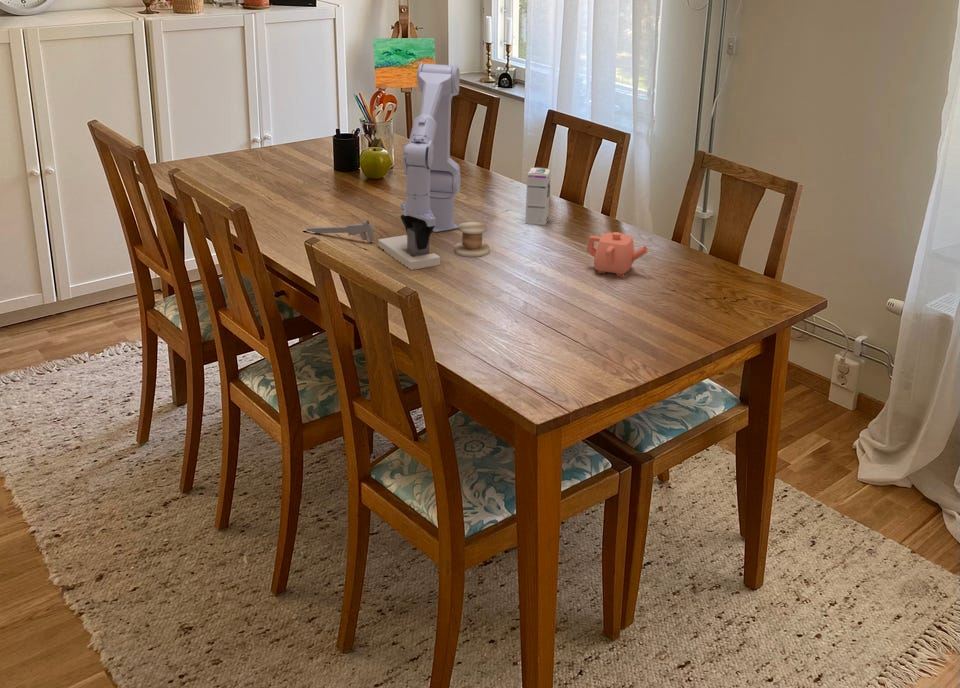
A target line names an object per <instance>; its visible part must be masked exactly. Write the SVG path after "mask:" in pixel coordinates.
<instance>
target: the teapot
mask: <svg viewBox="0 0 960 688" xmlns="http://www.w3.org/2000/svg"><path fill="white" fill-rule="evenodd" d="M595 242H597V245H596V247H594V246H595ZM586 252H587V253H588V254H590V255H591V256H592V257H593V258H594V259H593V266H594V269H595V270H597V273H598V272H599V273H604V274H606V273H612V274H615V275H618V276H623V275H624V276H625V274H626V273H628V271H630V270H631V268H632V266H633V265H634V261H636V260H639V258H641V257H643V256H644V255H646V254H647V253H649V249H648V248H647V246H646V245H643V246H642V247H640V248H639V249H638V250H636V251H635V245H634V238H633V236H632V235H630V234H629V235H628V234H624V233H622V232H618V231H614V232H610V231H607V232H605V233H604V234H603V235H602V236H597V235H590V236H589V238H588V243H587V247H586ZM599 273H598V274H599ZM618 276H617V277H618Z"/></svg>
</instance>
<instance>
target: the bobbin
mask: <svg viewBox="0 0 960 688" xmlns="http://www.w3.org/2000/svg"><path fill="white" fill-rule="evenodd" d="M458 225H459V228H458V231H459V232H461V235H462V237H461V238H462V239H461V240H462V241H461V242H457V243H455V244H454V246H453V247H454V248H453V251H454V253H455V254H457V256H458V255H459V256H462V257H465V258H466V257H467V258H479V257H484V256H487V255H489V254H490V248H491V247H490V245H489V244H488V243H485V242H483V234H484V233H485V232H487V225H486V224H484V223H482V222H478V221H477V222H476V221H466V222H462V223H459V224H458Z"/></svg>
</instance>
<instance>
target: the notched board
mask: <svg viewBox="0 0 960 688" xmlns="http://www.w3.org/2000/svg"><path fill="white" fill-rule="evenodd" d="M378 245H379V246H380V247H381V248H383V249H384V250H385V251H387V252H388V253H389V254H390V255H391V256H390V255H389V254H388V255H389V256H390V257H392V256H393V257H394V258H393V257H392V258H393V259H395V260H396V259H397V260H398V261H397V260H396V261H397V262H399V263H400V262H401V263H400V264H402V265H403V264H404V265H405V266H404V265H403V266H404V267H406V268H407V267H408V268H407V269H409V270H410V269H411V270H410V271H413V270H414V269H415V270H418V269H419V270H420V269H425V268H430V267H435V266H440V265H441V256H439V255H438V254H436V253H435V252H434V253H429V254H424V255H419V256H413V255H412V254H411V253H409V252H408V251H407V234H403V235H398V236H392V237H386V238H379V239H377V246H378ZM385 251H384V252H385Z"/></svg>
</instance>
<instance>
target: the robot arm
mask: <svg viewBox="0 0 960 688" xmlns="http://www.w3.org/2000/svg"><path fill="white" fill-rule="evenodd" d="M460 74H461V73H460V68H459V66H458V65H457V64H454V65H452V64H450V65H449V64H436V63H424V62H421V63H420V64H419V65H418V67H417V71H416V83H417V86H418V89H419V92H420V93H422V94H421V103H420V111H419V115H418V116H416V117H415V118H414V120H413V123H412V126H411V127H412V128H411V132H410V135H409V140H408V143H406V144H404V146H403V150H402V151H403V152H402V163H403V167H404V168H403V169H404V174H405V184H406V185H405V201H401V202H400V210H401V215H400V219H401V221H402V223H403V225H404V229H405V231H406V233H407V228H410V227H414V230H415V234H416V241H417V247H418V249H419V250H421V249H426V248H427V244H428V241H429V242H430V237H431V234H432V232H433V233H439V232H445V231H450V230H457V229H459V225H460V224H456V223H455V196H456V195H458V194H459V192H460V191H461V185H462V184H461V183H462V177H461V167H460V165H459V164H458V163H457V162H456V161H455V160H454V159H452V158H451V122H452V121H451V119H452V118H451V116H452V113H451V112H452V100H453V97H454V96H455V97H456V96H458V95H459V92H460V84H461V83H460V82H461V81H460V80H461V79H460V78H461V76H460Z"/></svg>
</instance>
